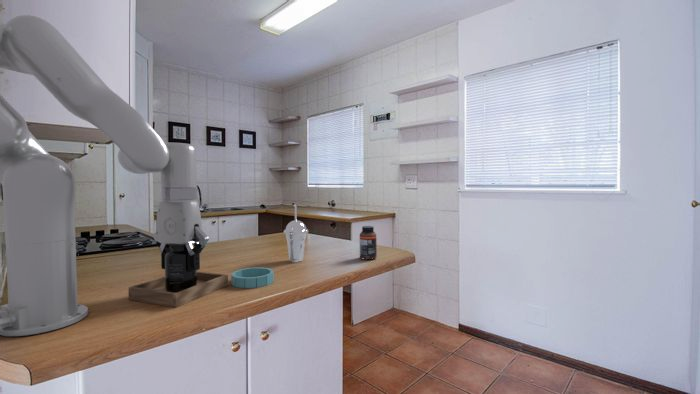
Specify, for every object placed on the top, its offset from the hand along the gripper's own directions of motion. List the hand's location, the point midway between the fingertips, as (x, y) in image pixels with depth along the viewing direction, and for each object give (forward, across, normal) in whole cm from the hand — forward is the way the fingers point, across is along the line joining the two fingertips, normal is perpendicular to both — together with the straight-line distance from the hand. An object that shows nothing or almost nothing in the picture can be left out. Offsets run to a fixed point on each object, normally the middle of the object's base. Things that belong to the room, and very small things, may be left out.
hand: (180, 268), depth 79 cm
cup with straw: (+6, +10, +38) cm, 40 cm away
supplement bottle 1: (+5, 0, 0) cm, 5 cm away
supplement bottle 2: (+6, +32, +50) cm, 60 cm away
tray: (+6, 0, 0) cm, 6 cm away
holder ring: (+6, +11, +13) cm, 18 cm away
